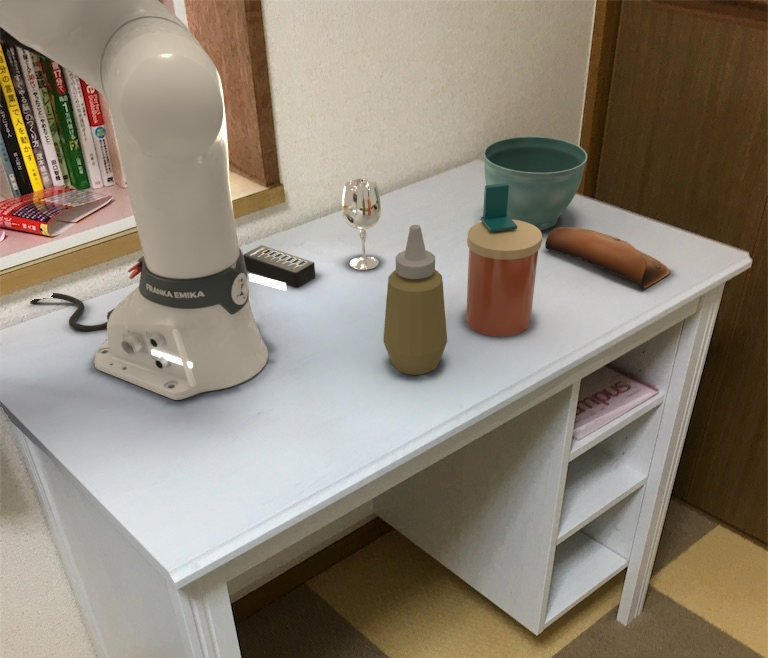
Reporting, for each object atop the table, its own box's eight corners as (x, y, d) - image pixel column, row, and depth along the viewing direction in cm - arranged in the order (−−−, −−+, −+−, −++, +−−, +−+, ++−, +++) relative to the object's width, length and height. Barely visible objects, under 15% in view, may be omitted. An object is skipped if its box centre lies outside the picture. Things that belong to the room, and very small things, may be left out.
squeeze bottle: (441, 384, 101) (445, 244, 88) (377, 378, 102) (372, 240, 90) (451, 349, 106) (455, 214, 94) (390, 344, 108) (387, 210, 95)
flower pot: (584, 206, 139) (593, 139, 131) (570, 246, 127) (579, 176, 120) (491, 197, 143) (495, 132, 135) (469, 235, 131) (472, 167, 124)
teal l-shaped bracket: (517, 228, 104) (520, 194, 101) (490, 232, 103) (492, 197, 100) (506, 216, 106) (509, 182, 103) (480, 219, 106) (482, 185, 103)
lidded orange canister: (540, 331, 109) (549, 253, 102) (477, 340, 108) (481, 262, 100) (517, 300, 115) (524, 225, 108) (457, 309, 114) (460, 233, 107)
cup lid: (552, 254, 101) (553, 245, 101) (480, 263, 100) (480, 254, 99) (525, 224, 108) (526, 215, 107) (458, 232, 107) (458, 223, 106)
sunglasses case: (675, 268, 120) (670, 238, 114) (646, 305, 119) (640, 276, 114) (577, 232, 130) (568, 203, 124) (550, 266, 129) (540, 238, 124)
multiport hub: (297, 288, 120) (295, 273, 118) (243, 269, 125) (241, 255, 123) (316, 276, 122) (315, 262, 121) (263, 258, 127) (261, 244, 126)
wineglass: (375, 274, 122) (372, 194, 114) (340, 269, 124) (334, 190, 116) (388, 257, 126) (386, 179, 118) (353, 253, 128) (349, 175, 120)
